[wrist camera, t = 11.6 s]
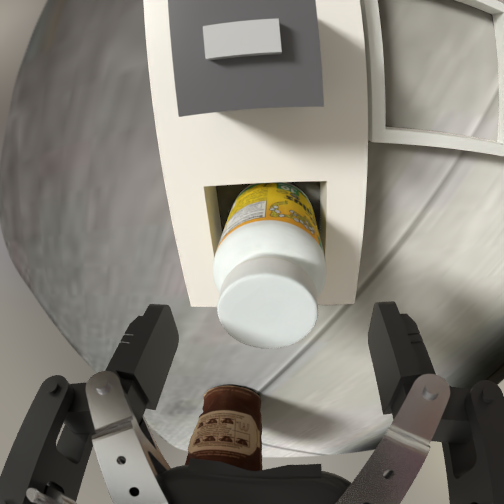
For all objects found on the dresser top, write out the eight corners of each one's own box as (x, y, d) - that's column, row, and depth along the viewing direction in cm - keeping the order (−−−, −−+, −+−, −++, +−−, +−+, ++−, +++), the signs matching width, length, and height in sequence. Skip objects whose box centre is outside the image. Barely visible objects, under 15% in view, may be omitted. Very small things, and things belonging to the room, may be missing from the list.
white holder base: (344, -10, 12) (388, -70, 5) (346, 278, 22) (371, 369, 15) (162, 5, 13) (88, -36, 6) (200, 281, 23) (169, 369, 16)
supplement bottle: (216, 202, 20) (171, 291, 12) (288, 161, 18) (296, 230, 10) (259, 263, 22) (245, 371, 14) (327, 230, 20) (354, 333, 12)
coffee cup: (184, 375, 30) (153, 487, 18) (263, 373, 28) (253, 498, 17) (208, 416, 34) (189, 509, 22) (275, 415, 32) (268, 515, 21)
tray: (497, 8, 10) (509, 6, 9) (503, 153, 16) (514, 158, 14) (351, -32, 11) (357, -40, 10) (365, 138, 17) (372, 142, 16)
